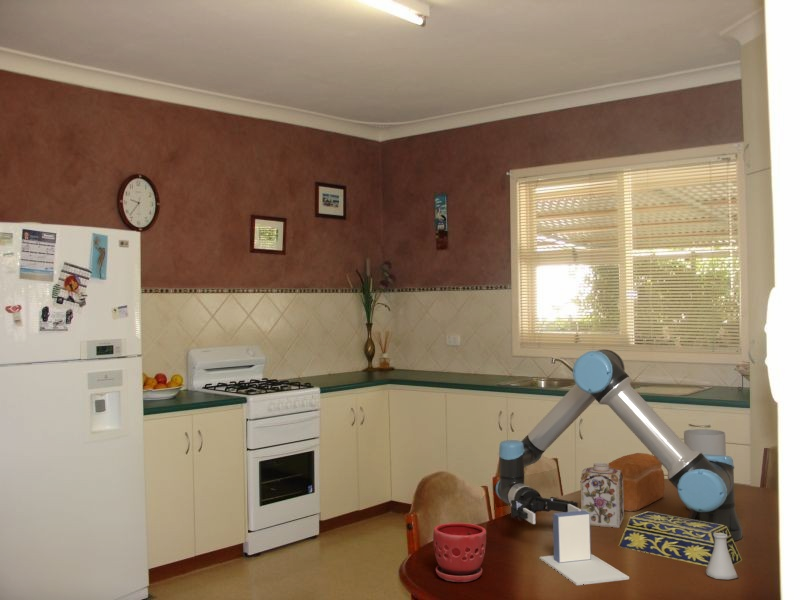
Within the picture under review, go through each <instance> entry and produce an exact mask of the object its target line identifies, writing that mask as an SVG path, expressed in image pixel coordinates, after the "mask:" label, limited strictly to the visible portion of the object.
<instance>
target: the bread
mask: <svg viewBox="0 0 800 600" xmlns="http://www.w3.org/2000/svg"><path fill="white" fill-rule="evenodd" d="M608 464H609V468H613V469H617V470H620V471H621V472H622V475H623V496H624V512H635V511H640V510H641V509H642V508H645V507H647V506H648V505H651V504H652V503H654V502H657V501H658V500H661V499H662V498H664V496H665V489H666V488H665V485H666V484H665V473H664V470H663V469H662V467H663V465H662V464H661V463H660V462H659V460H658V459H657V458H656V457H655V456H654V455H653V454H649V453H643V452H636V453H631V454H627V455H623V456H620V457H618V458H616V459H614V460H612V461H610V462H609V463H608Z"/></svg>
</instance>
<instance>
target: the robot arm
mask: <svg viewBox="0 0 800 600" xmlns="http://www.w3.org/2000/svg"><path fill="white" fill-rule="evenodd" d="M625 369H626V367H625V364H624V361H623V358H622V357H621V356H620V355H619V354H618V353H616V352H614V351H613V350H610V349H599V350H590V351H587V352H585V353H583V354H582V355H580V356H579V357H578V358H577V359H576V361H575V363H574V364H573V367H572V377H573V381H574V383H575V384H574V385H572V387H571V388H570V390H569V391H567V392H566V394H564V395H563V397H562V398H561V399H560V400H559V401H558V402H557V403H556V404H555V405H554V406H553V407H552V409H550V410H549V412H548V413H546V415H545V416H544V417H543V418H542V419H541V420H540V421H539V422H538V423H537V424H536V425H535V426H534V427H533V428H532V429H531V431H530V432H529V433H527V435H526V436H525V437H524V438H523V439H521V440H516V439H508V440H503V441H501V442H500V443H499V451H498V457H499V480H498V481H497V482H496V485H495V493H496V495H497V497H498V498H499V499H500V500H501V501H502V502H504V503H506V504H508V505H510V518H511V519H512V518H513V519H515V518H516V517H517V520H518V521H523V519H524V520H525V521H527V522H528V523H530V524H531V525H536V513H537V512H550V511H554V512H559V513H564V512H575V511H581V508H579V505H578V502H577V501H573V500H567V499H562V498H557V497H554V496H550V498H547V497H542V496H541V494H540V492H539V491H537V490H536V489H535V488H532V487H530V486H529V485H526V484H525V467H528V466H531V465H533V464H535V463H537V462H538V461H539V460H540V459H541V458H542V455H543V454H544V453H545V452H546V450H548V449H549V448H550V446H552V444H553V443H555V442H556V441H557V439H559V438H560V436H561V435H562V434H564V432H565V431H566V430H567V429H568V428H570V426H571V425H573V423H574V422H575V421H576V420H577V419H578V418H579V417H580V416H581V415H582V414H583V413H584V412H585V411H586V410H587V409H588V408H589V407H590V406H591V405H592V403H594V402H595V401H596V402H597V403H598V404H600V405H606V406H608V407H609V408H610V409H611V410H612V411H613V412H614V413H615V415H616V416H617V417H618V418H619V419H620V420H621V421H622V422H623V423H624V424H625V426H626V427H627V428H628V429H629V430H630V431H631V432H632V433H633V434H634V436H636V438H638V440H639V441H640V442H641V443H642V444H643V445H644V447H646V448H647V450H648V451H649V452H650V453H651V455H653V456H655V457H656V458H657V459H658V460H659V462H660V463H661V464H662V467H663V468H665V469H666V471H667V479H668V481H669V482H670V483H671V484H672V485H673V486H674V487H675V488H676V489H677V494H678V497H679V498H680V500H681V502H682V504H684V505H685V506H687V507H689V508H690V510H689V513H688V515H687V518H689V519H694V520H700V521H705V522H711V523H716V524H722V525H727V528H728V530H729V532H730V534H731V536H732V539H733V541H734V542H735V541H739V540H742V539H743V527H742V525H741V523H740V519H739V517H738V515H737V512H736V507H735V505H736V504H735V478H734V477H735V476H734V475H735V474H734V469H735V465H734V460H733V459H734V458H732V456H729V455H726V456H724V455H712V454H702V453H701V452H699V451H692V450H691V449H690V448H689V447H688V446H687V445H686V444H685V443H684V440H682V439H681V438H680V437H679V436H678V435H677V434H676V432H675V431H674V430H673V429H672V428H671V427H670V426H669V425H668V424H667V422H665V421H664V420H663V419H662V417H661V416H659V414H658V413H657V412H656V411H655V409H653V407H652V406H650V405H649V404H648V402H647V401H646V400H645V399H644V398H643V397H642V396H641V395H640V394H639V393H638V392H637V390H635V389H634V387H632V385H631V377H630V375H629V374H628V373H627V372H626V371H625ZM687 507H686V508H687Z"/></svg>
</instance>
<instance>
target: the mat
mask: <svg viewBox="0 0 800 600" xmlns="http://www.w3.org/2000/svg"><path fill="white" fill-rule="evenodd" d="M540 559H541V560H540ZM539 560H540V561H541V562H543V561H544V562H545V563H544V562H543V563H544V564H546V565H547V564H548V565H547V566H549V567H550V568H551V567H552V568H551V569H553V570H554V569H555V570H554V571H556V572H557V571H558V572H559V573H558V572H557V573H558V574H560V575H561V574H562V575H561V576H563V578H565V577H566V578H565V579H567V580H568V579H569V580H568V581H569V582H571V583H572V582H573V585H575V586H584V585H591V584H592V585H593V584H602V583H609V582H619V581H626V580H630V576H628V575H627V574H625V573H624V572H622V571H620V570H619V569H617V568H615V567H614V566H612V565H610V564H609V563H607V562H606V561H604V560H602V559H600V558H599V557H598V556H597V555H596V556H595V555H594V554H593V553H591V560H584V561H575V562H565V563H558V562H557V561H555V560H554V554H552V555H544V556H539ZM583 584H584V585H583Z"/></svg>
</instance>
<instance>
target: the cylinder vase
mask: <svg viewBox="0 0 800 600" xmlns="http://www.w3.org/2000/svg"><path fill="white" fill-rule="evenodd" d="M683 442H684V443H685V444H686V445H687V446H688V447H689V448H690V449H691V450H692V451H699V452H701V453H702V454H712V455H724V456H727V454H726V453H727V451H726V450H727V448H726V447H727V445H726V432H725V431H722V430H717V429H706V428H705V429H703V428H702V429H701V428H699V429H698V428H697V429H687V430H684V431H683ZM685 506H686V505H685ZM686 509H688V510H689V511H690V508H689V507H687V506H686Z"/></svg>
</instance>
